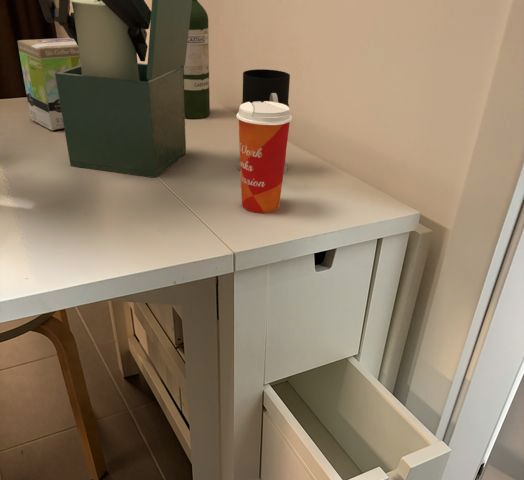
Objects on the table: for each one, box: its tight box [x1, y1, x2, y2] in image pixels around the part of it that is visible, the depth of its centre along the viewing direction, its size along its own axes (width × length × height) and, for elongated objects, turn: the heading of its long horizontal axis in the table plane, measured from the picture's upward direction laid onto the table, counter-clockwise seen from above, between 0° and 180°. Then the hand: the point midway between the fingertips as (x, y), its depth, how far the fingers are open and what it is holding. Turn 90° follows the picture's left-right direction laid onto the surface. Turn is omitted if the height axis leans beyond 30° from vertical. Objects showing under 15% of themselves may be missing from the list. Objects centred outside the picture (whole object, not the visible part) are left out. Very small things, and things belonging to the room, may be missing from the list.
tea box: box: [17, 37, 81, 131], centre depth 111 cm, size 15×10×15 cm, turn 132°
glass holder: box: [237, 68, 291, 175], centre depth 90 cm, size 9×14×15 cm, turn 9°
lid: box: [146, 0, 192, 80], centre depth 82 cm, size 16×14×1 cm
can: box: [70, 0, 140, 81], centre depth 87 cm, size 9×9×12 cm
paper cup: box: [235, 101, 293, 214], centre depth 79 cm, size 8×8×14 cm
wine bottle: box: [181, 0, 211, 120], centre depth 114 cm, size 8×8×30 cm
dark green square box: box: [55, 62, 187, 179], centre depth 93 cm, size 16×14×14 cm
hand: (115, 51), depth 91 cm, fingers closed on can, 9 cm apart
